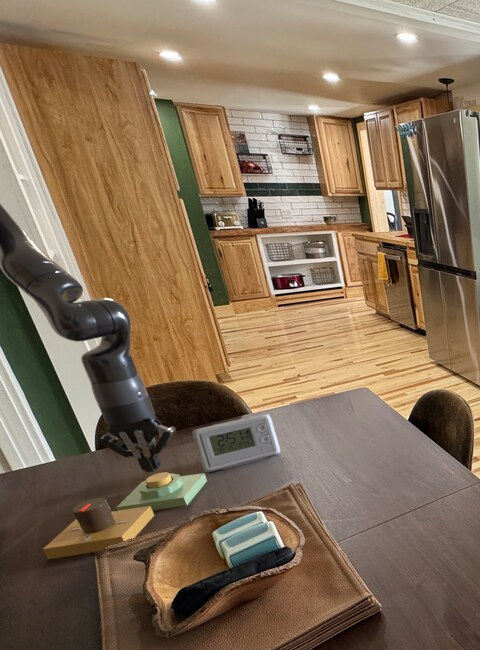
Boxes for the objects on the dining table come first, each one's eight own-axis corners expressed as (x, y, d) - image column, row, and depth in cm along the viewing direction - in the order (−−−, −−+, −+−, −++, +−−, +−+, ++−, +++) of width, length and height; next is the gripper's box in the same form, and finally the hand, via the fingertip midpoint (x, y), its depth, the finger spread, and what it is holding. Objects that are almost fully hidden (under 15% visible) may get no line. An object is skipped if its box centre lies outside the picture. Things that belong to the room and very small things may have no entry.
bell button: (144, 490, 103) (141, 483, 102) (154, 480, 106) (151, 473, 106) (166, 487, 104) (163, 480, 103) (175, 477, 107) (173, 471, 107)
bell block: (119, 515, 100) (112, 500, 99) (146, 489, 109) (139, 474, 108) (187, 505, 104) (181, 490, 102) (207, 480, 112) (201, 466, 111)
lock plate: (48, 559, 88) (41, 548, 87) (84, 526, 97) (78, 515, 96) (126, 546, 92) (121, 535, 91) (154, 515, 100) (150, 505, 99)
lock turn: (93, 520, 95) (82, 498, 93) (121, 516, 96) (111, 495, 94) (76, 535, 91) (64, 512, 89) (105, 531, 92) (94, 509, 90)
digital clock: (200, 476, 114) (186, 437, 110) (210, 458, 122) (196, 421, 118) (279, 460, 121) (268, 423, 117) (283, 445, 128) (273, 409, 124)
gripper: (171, 388, 102) (196, 457, 108) (95, 394, 98) (126, 466, 105) (152, 401, 95) (180, 475, 102) (69, 409, 92) (104, 484, 98)
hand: (152, 470), depth 103 cm, fingers closed
